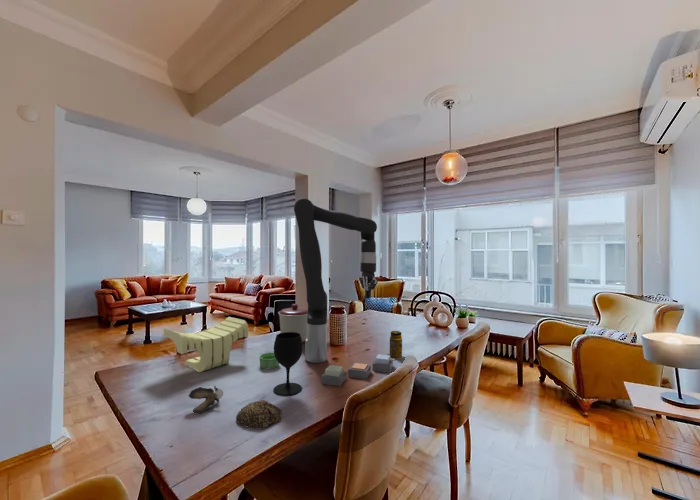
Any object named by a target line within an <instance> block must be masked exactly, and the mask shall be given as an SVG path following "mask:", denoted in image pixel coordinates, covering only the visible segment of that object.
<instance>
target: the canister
mask: <svg viewBox="0 0 700 500" xmlns="http://www.w3.org/2000/svg"><path fill="white" fill-rule="evenodd" d="M277 313H278V316H279V327H280V333H284V332H296V333H299V334H300V335H301V339H302V343H305V340H306V339H307V315H308V308H303V307H299V305H298V304H297V303H292V304H291V307H287V308H282V309H281V310H280V311H278V312H277Z"/></svg>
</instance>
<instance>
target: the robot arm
mask: <svg viewBox="0 0 700 500" xmlns="http://www.w3.org/2000/svg"><path fill="white" fill-rule="evenodd" d="M293 211H294V215H295V218H296V222H297V223H296V224H297V227H298V240H299V242H298V243H299V252H300V253H299V254H300V259H301V265H302V270H303V274H304V278H305V283H306V284H305V285H306V303H307V309H308V315H307V338H306V340H305V341H304V361H305V362H308V363H313V364H319V363H324V362H326V361H327V357H328V356H327V339H328V338H327V336H328V335H327V334H328V332H327V331H328V330H327V329H328V328H327V327H328V326H327V325H328V294H327V292H326V291H325V289H324V284H323V279H322V278H323V277H322V271H323V270H322V264H323V263H322V254H321V246H320V241H319V239H318V236H317V232H316V227H315V221H316V222H321V223H325V224H328V225H332V226H335V227H339V228H342V229H346V230H350V231H357V232H359V233H360V240H361V243H360V262H359V263H360V265H359V266H360V270H359V271H360V272H362V273H361V276H360V277H359V278H358V281H359V283H360V286H361V288H362V289H364V298H365V299H371V297H372V290H374V289H376V286H377V284H378V282H379V280H378V279H376V275H375V273H376V271H377V253H376V251H377V245H376V244H377V243H376V241H375V234H376V233H375V232H377V229H378V226H377V222H376V221H375V220H374V219H370V218H366V217H360V216H356V215H353V214H350V213H347V212H346V213H345V212H341V211H337V210H330V209H325V208H322V207H319V206H317V205H315V204H314V203H313V202H312V201H311V200H310V199H308V198H305V197H303V198H299V199H297V200H296V202H294V206H293Z"/></svg>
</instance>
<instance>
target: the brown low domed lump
mask: <svg viewBox="0 0 700 500" xmlns="http://www.w3.org/2000/svg"><path fill="white" fill-rule="evenodd" d="M281 414H282V408H280V407H279V406H277V405H275V404H273V403H271V402H270V401H268V400H265V399H262V400H257V401H253V402H249V403H248V404H246V405H245V406H243V407H242V408H241V409H240V410H239V412H237V415H236V417H235V420H236V422H238V424H240V425H243V426H244V425H245V427H246V426H248V427H247V428H253V427H254V429H258V428H261V429H264V427H265V428H267V427H268V426H271V424H273V423H275V424H277V423H279V422H280V421H281V420H282V416H281Z"/></svg>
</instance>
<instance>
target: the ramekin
mask: <svg viewBox="0 0 700 500" xmlns="http://www.w3.org/2000/svg"><path fill="white" fill-rule="evenodd" d="M258 358H259V366H260V368H262V369H265V368H271V369H274V367H275V368H277V367H278V366H279V365H280V363H279V362H278V361H277V360H276V358H275V355H274V352H265V353H261V354H260V355H259V357H258Z"/></svg>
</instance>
